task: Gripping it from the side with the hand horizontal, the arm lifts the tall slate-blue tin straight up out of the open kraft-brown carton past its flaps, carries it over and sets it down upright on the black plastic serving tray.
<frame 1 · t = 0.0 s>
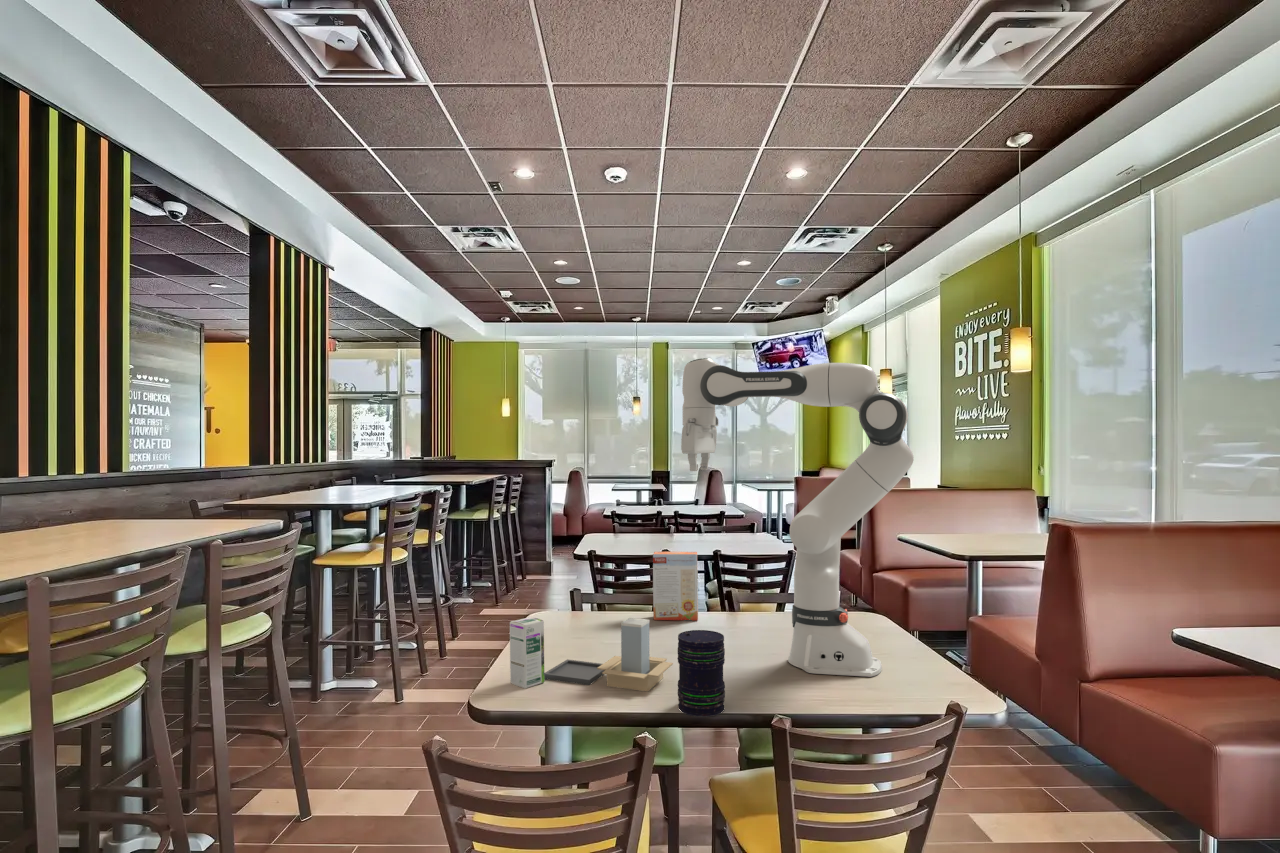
hand: (699, 470, 192), 48 cm above the table, tool pointing down, fingers open, 8 cm apart
tray: (577, 674, 171), on the table
syrup box: (527, 684, 165), on the table
carton: (635, 681, 166), on the table
cracker box: (675, 619, 225), on the table
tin: (635, 651, 166), in the carton
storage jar: (701, 708, 149), on the table
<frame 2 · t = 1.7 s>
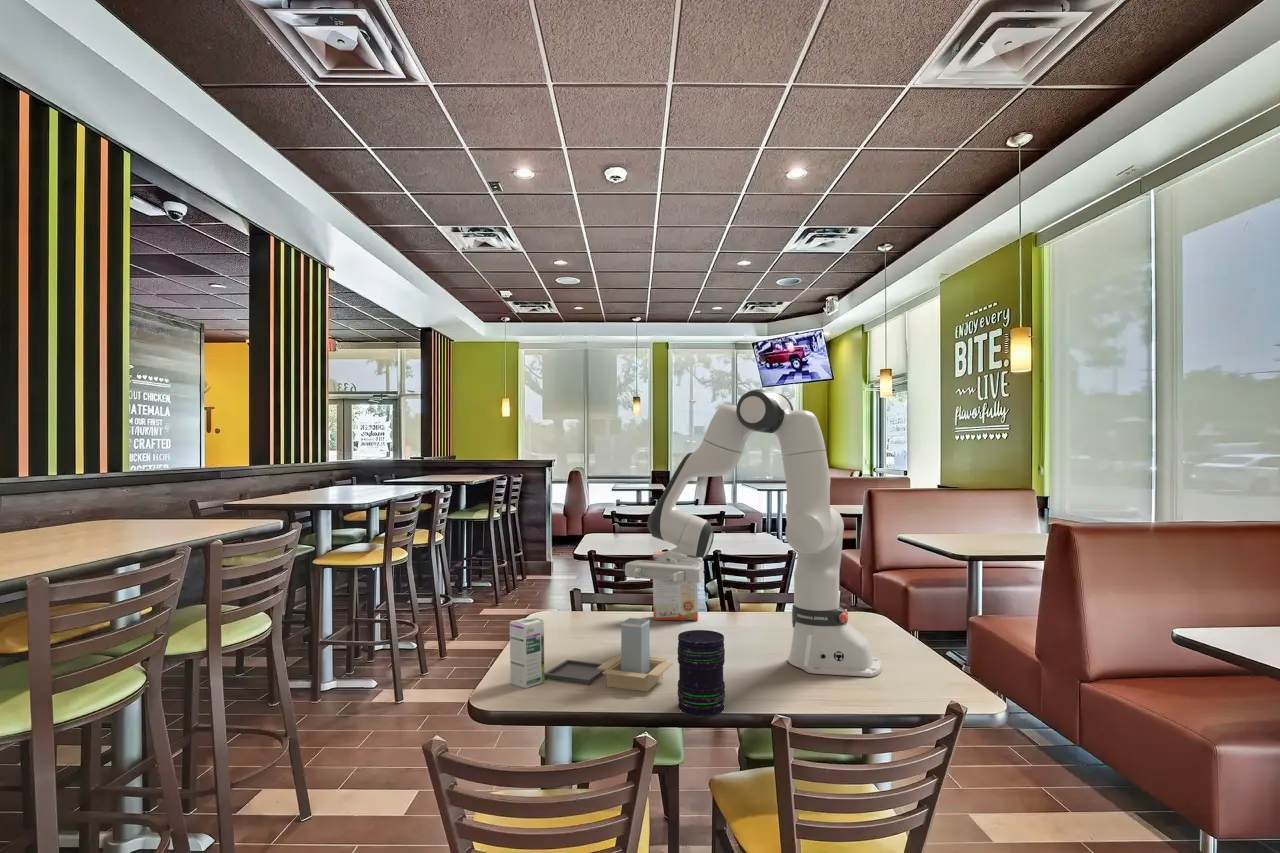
hand: (653, 576, 177), 22 cm above the table, tool horizontal, fingers open, 8 cm apart
nothing on the table moved.
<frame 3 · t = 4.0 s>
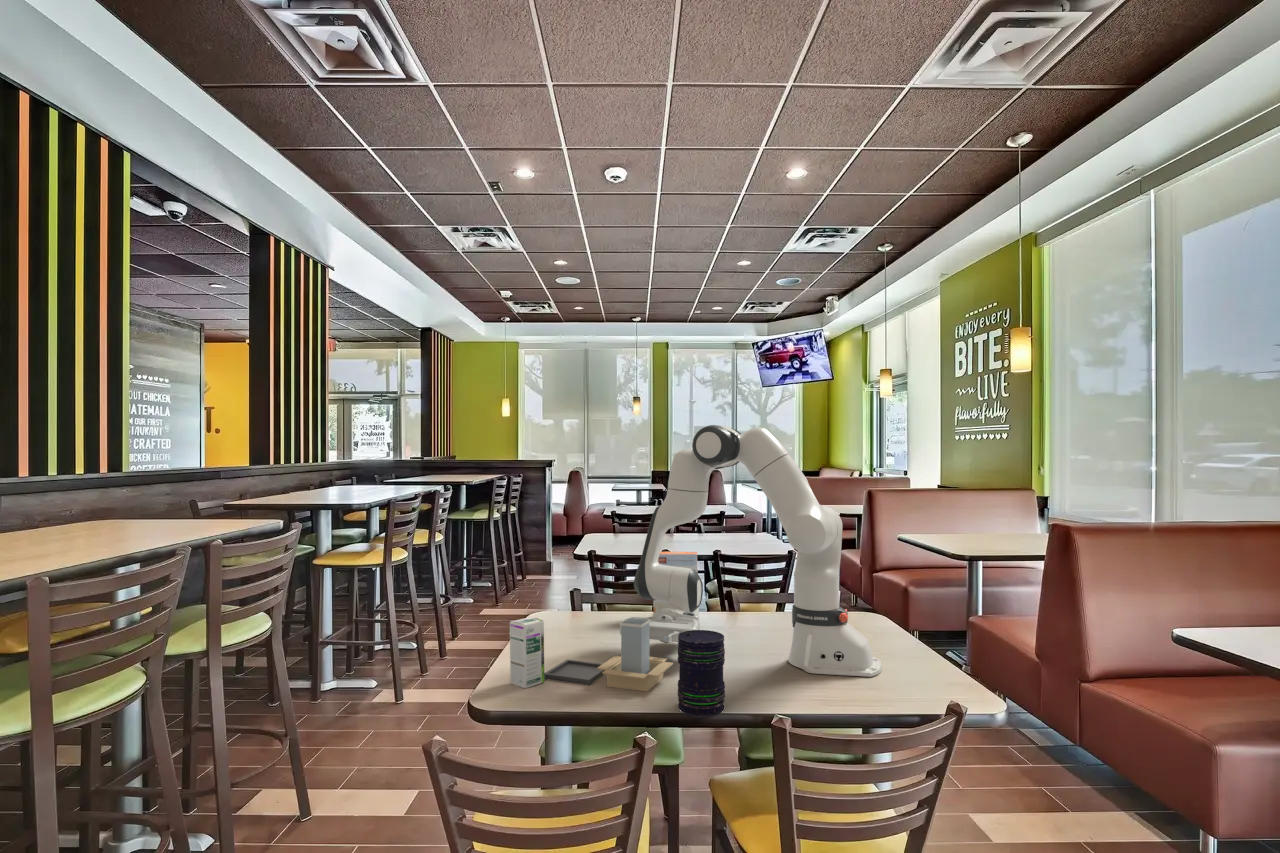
hand: (648, 637, 174), 8 cm above the table, tool horizontal, fingers open, 8 cm apart
nothing on the table moved.
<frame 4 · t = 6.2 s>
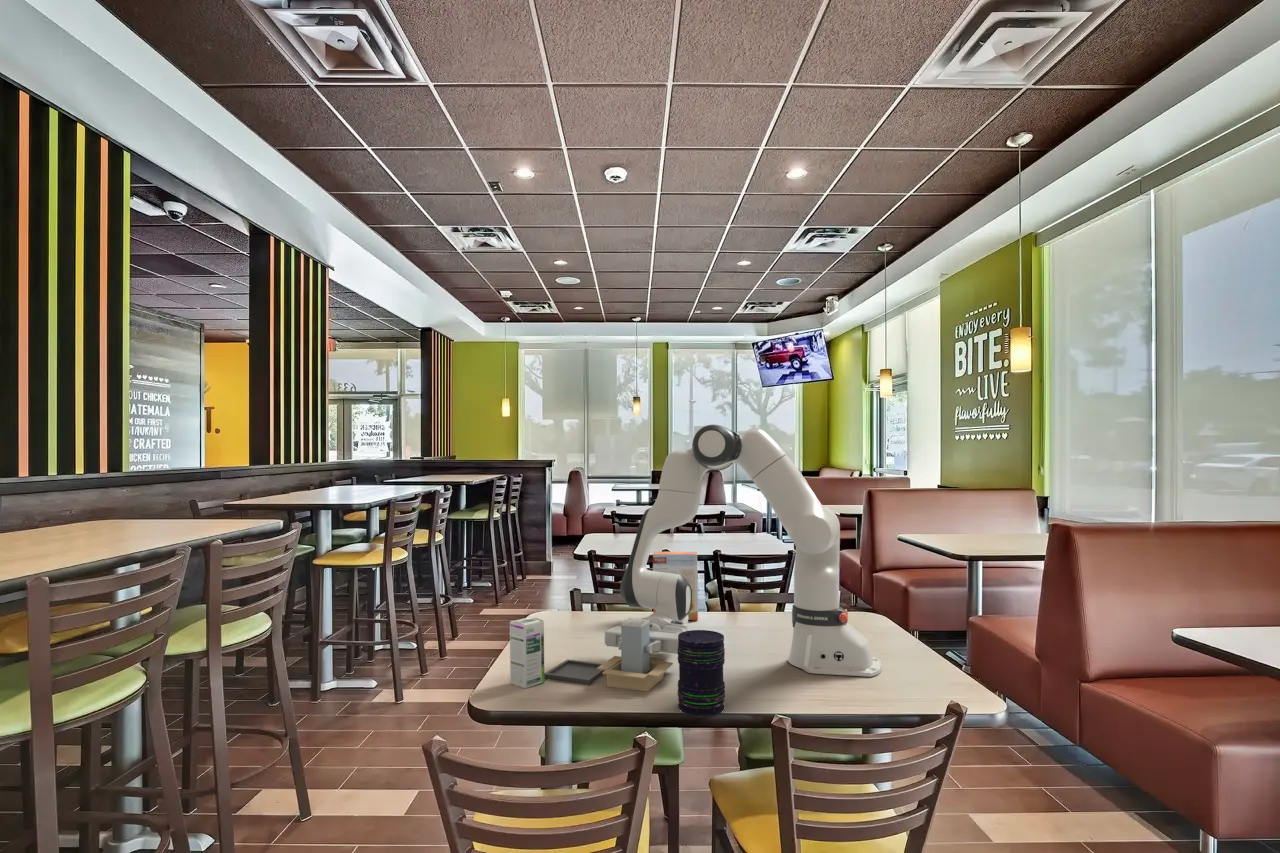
hand: (634, 648, 165), 8 cm above the table, tool horizontal, fingers closed on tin, 5 cm apart
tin: (635, 651, 166), in the carton, touching gripper
everything else where it was.
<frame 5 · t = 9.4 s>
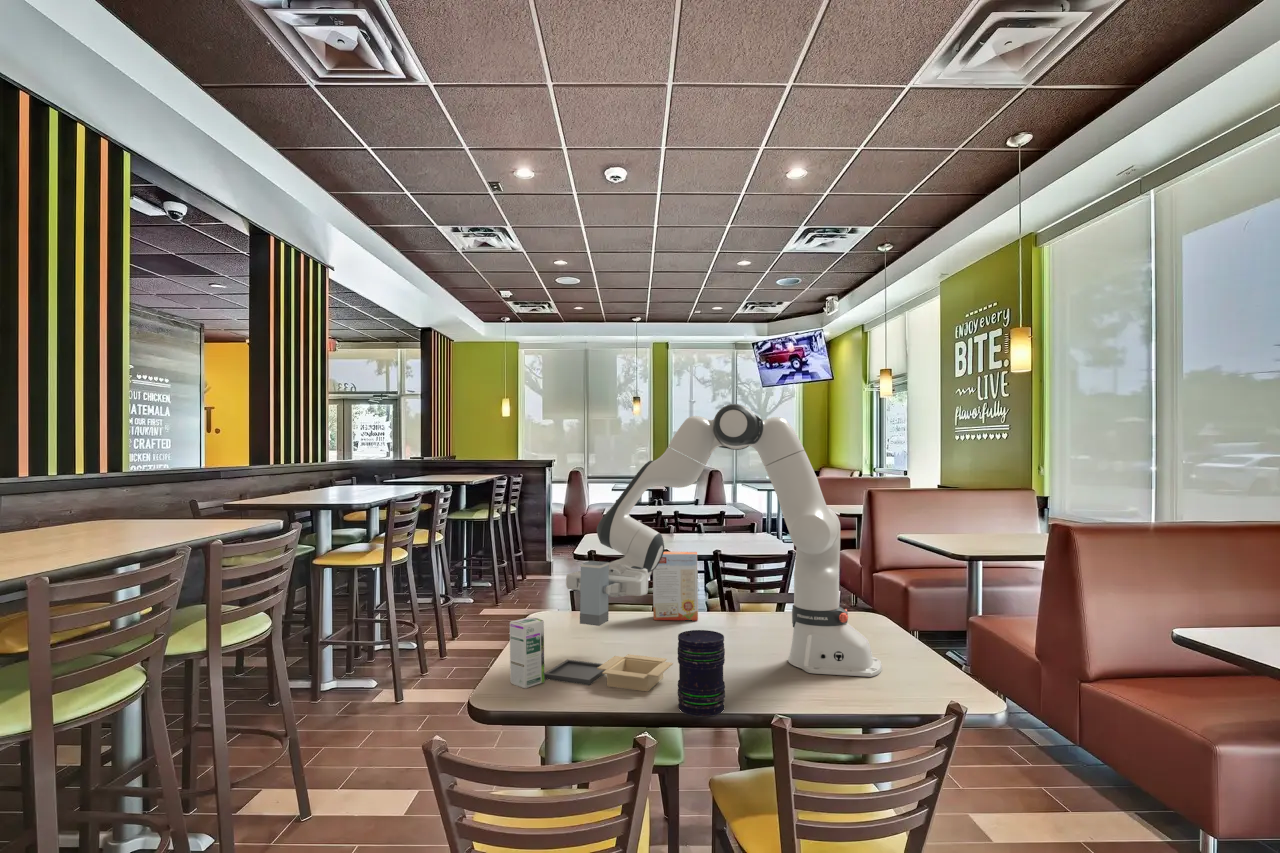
hand: (592, 589, 169), 21 cm above the table, tool horizontal, fingers closed on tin, 5 cm apart
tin: (594, 592, 170), point 20 cm above the table, touching gripper
everything else where it was.
when the fingers open (10 cm above the table, at t = 12.6 s): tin drops 1 cm, resting on tray.
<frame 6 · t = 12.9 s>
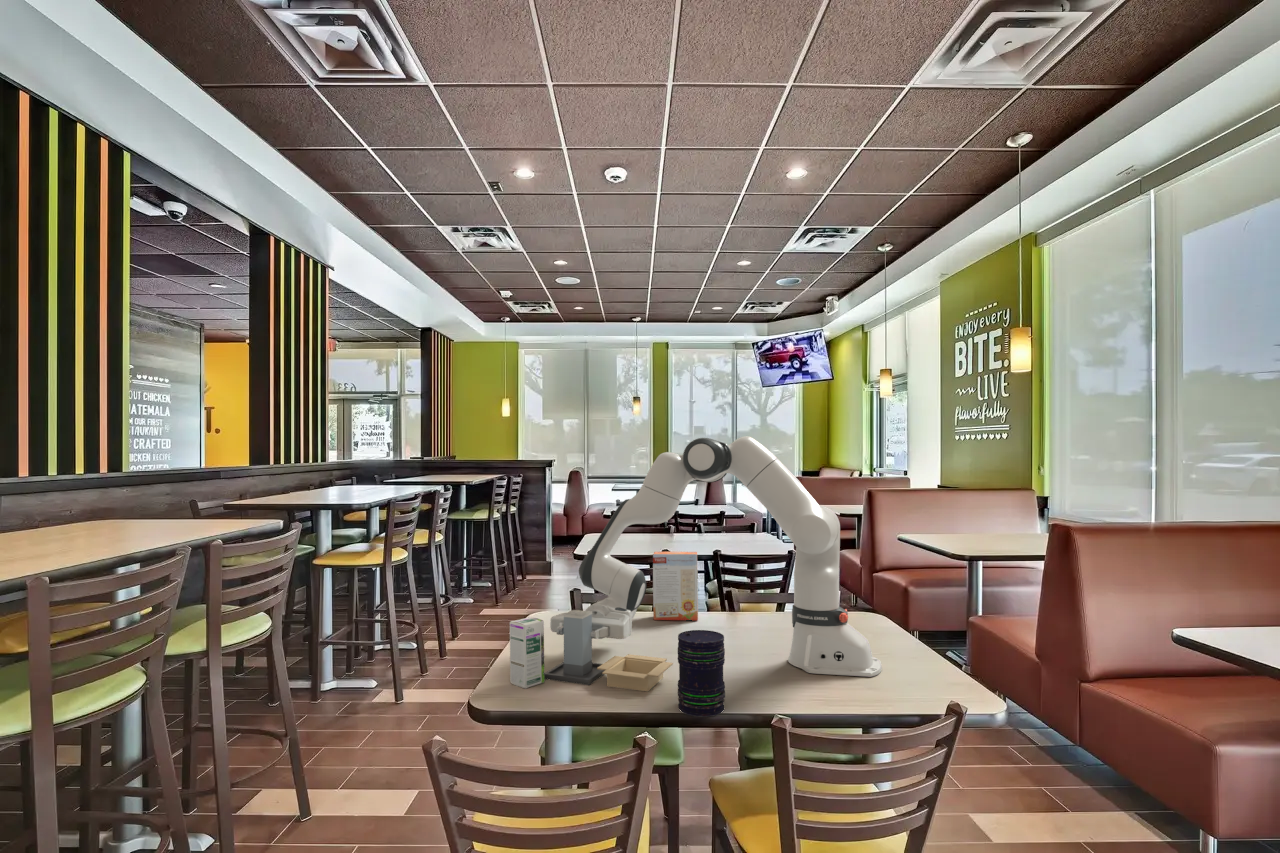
hand: (576, 633, 171), 10 cm above the table, tool horizontal, fingers open, 8 cm apart
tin: (577, 642, 171), point 8 cm above the table, touching tray
everything else where it was.
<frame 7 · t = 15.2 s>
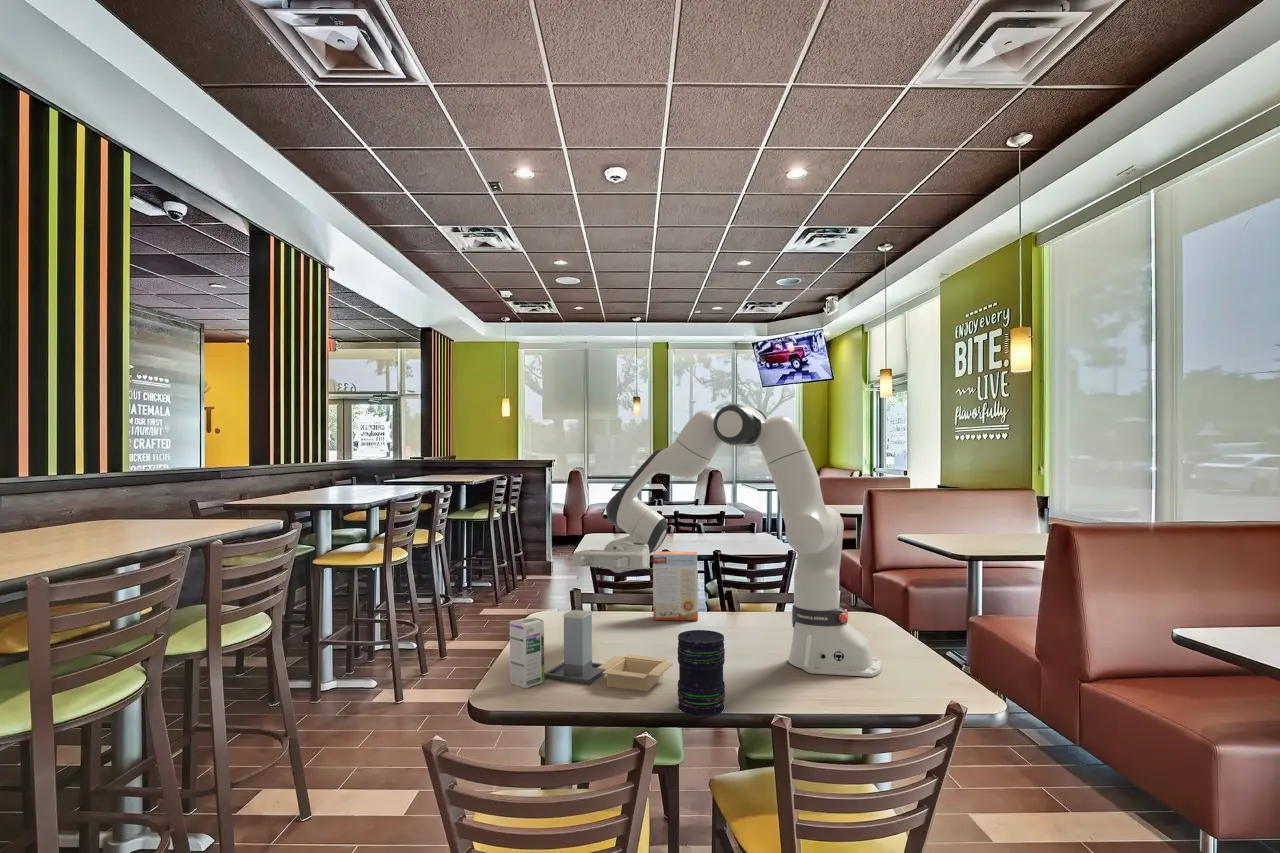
hand: (598, 563, 182), 25 cm above the table, tool horizontal, fingers open, 8 cm apart
nothing on the table moved.
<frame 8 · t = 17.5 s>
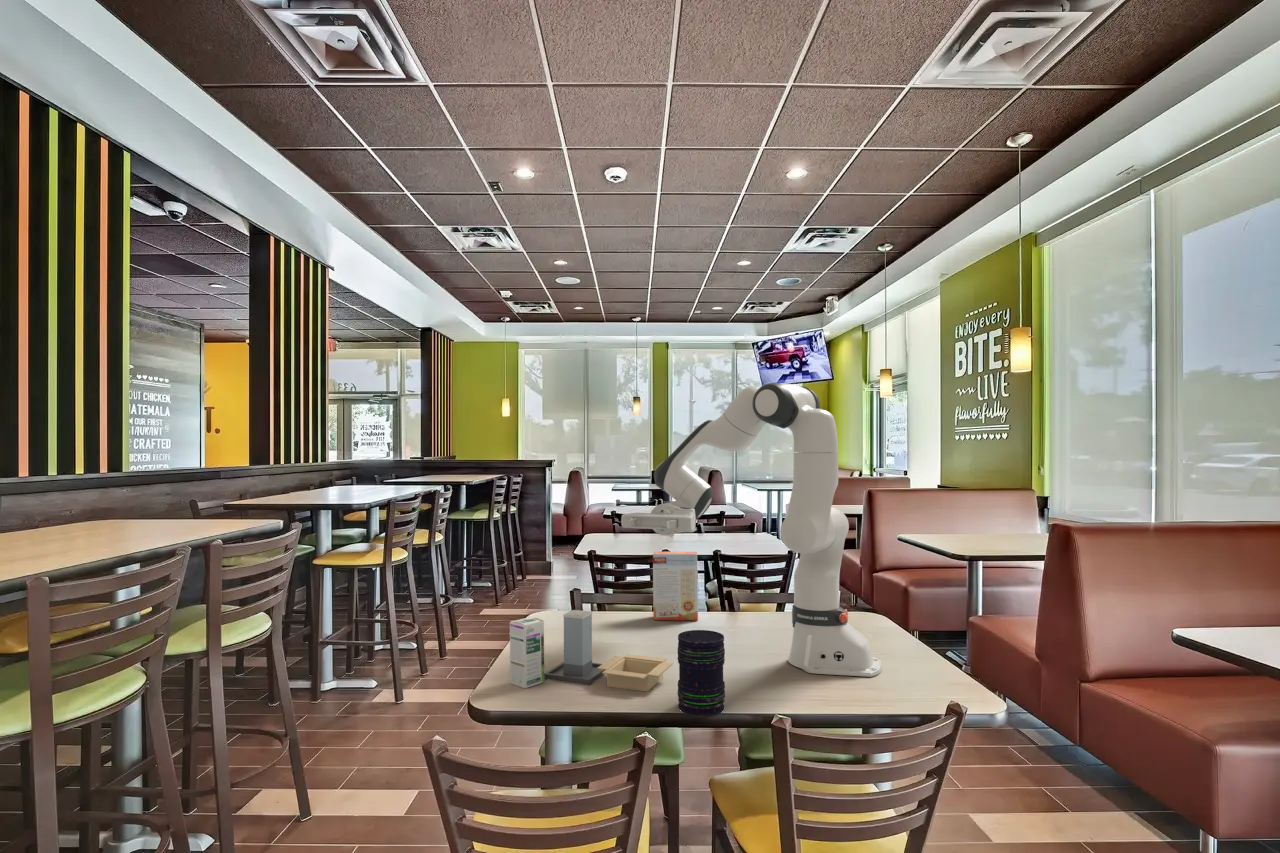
hand: (648, 524, 188), 34 cm above the table, tool horizontal, fingers open, 8 cm apart
nothing on the table moved.
at the end: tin inside the target area on the tray (0.0 cm from its centre), point 7.6 cm above the tray's base; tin tilted 0°; the gripper is holding nothing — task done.
